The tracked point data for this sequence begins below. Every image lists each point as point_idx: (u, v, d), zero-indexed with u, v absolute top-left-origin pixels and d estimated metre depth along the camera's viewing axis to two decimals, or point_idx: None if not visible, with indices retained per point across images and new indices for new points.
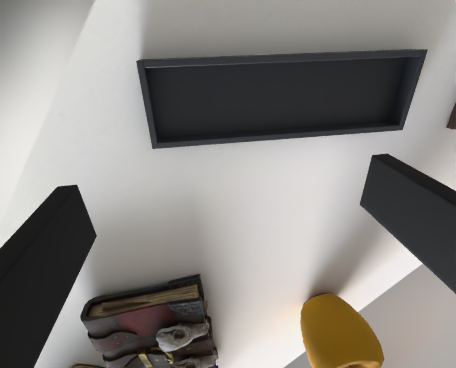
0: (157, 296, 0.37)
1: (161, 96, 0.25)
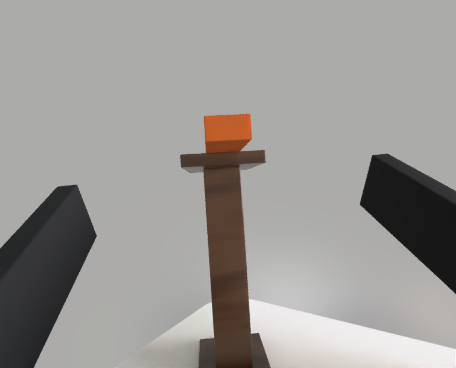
0: None
1: None
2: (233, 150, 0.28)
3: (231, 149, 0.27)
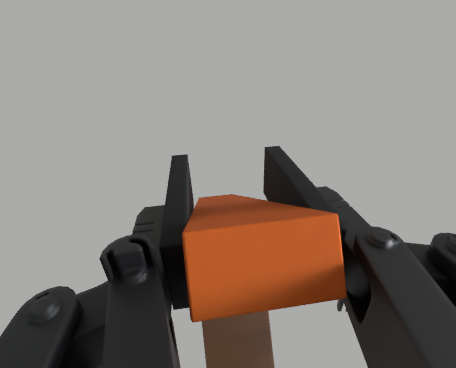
0: None
1: None
2: None
3: None
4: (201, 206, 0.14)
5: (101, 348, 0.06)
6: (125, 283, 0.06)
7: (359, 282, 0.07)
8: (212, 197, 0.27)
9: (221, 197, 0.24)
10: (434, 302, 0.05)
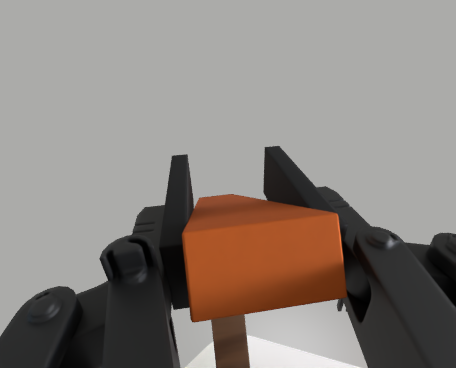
0: None
1: None
2: None
3: None
4: (201, 206, 0.14)
5: (101, 349, 0.06)
6: (125, 283, 0.06)
7: (359, 282, 0.07)
8: (212, 197, 0.27)
9: (221, 197, 0.24)
10: (434, 302, 0.05)
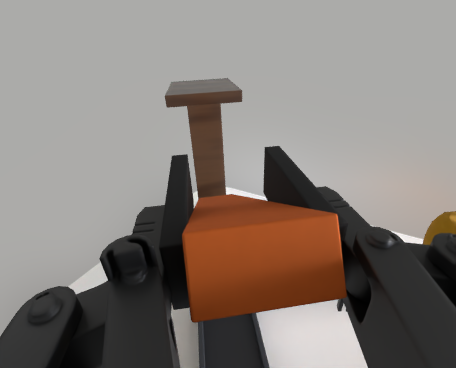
0: None
1: None
2: None
3: None
4: (201, 206, 0.14)
5: (101, 348, 0.06)
6: (125, 283, 0.06)
7: (359, 282, 0.07)
8: (212, 197, 0.27)
9: (221, 197, 0.24)
10: (434, 302, 0.05)
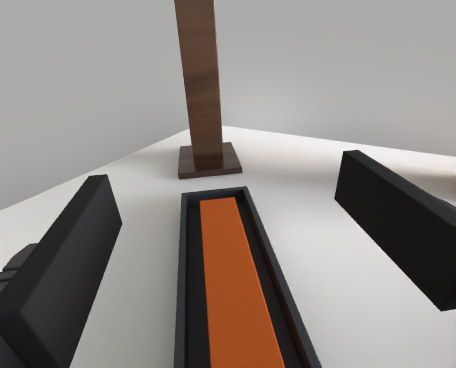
0: None
1: None
2: None
3: None
4: (216, 341, 0.15)
5: None
6: None
7: None
8: (215, 217, 0.26)
9: (226, 233, 0.23)
10: None
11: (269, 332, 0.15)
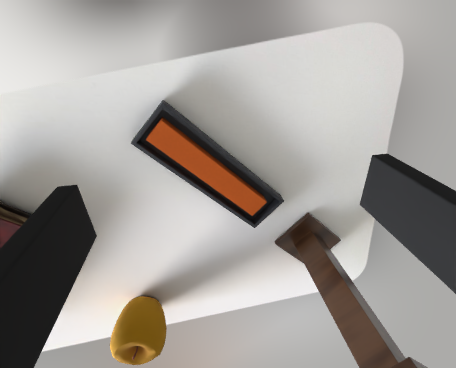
0: None
1: None
2: None
3: None
4: (201, 154, 0.41)
5: None
6: None
7: None
8: (248, 197, 0.47)
9: (235, 193, 0.46)
10: None
11: (189, 168, 0.42)
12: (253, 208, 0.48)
